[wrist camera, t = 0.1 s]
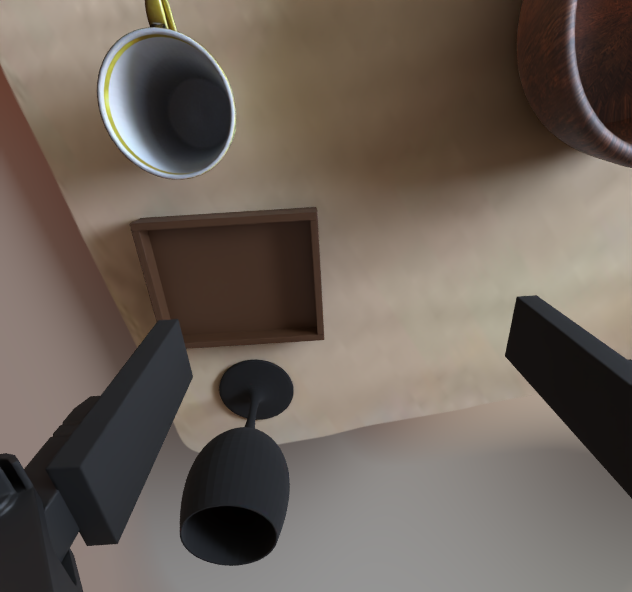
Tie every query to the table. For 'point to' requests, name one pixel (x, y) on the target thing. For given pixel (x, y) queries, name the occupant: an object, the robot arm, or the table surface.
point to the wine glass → (240, 474)
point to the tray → (235, 275)
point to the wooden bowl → (580, 72)
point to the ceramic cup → (166, 99)
